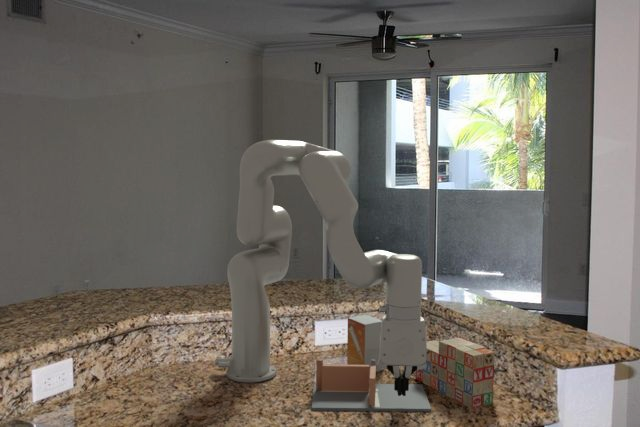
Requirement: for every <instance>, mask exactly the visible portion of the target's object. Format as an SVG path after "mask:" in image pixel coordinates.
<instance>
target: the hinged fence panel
mask: <svg viewBox="0 0 640 427" xmlns="http://www.w3.org/2000/svg"><path fill="white" fill-rule="evenodd" d="M376 384H377V372H376V360H374V359H372V360H371V368H370V373H369V405H375V394H376Z"/></svg>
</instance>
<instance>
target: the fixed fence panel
mask: <svg viewBox="0 0 640 427" xmlns="http://www.w3.org/2000/svg"><path fill="white" fill-rule="evenodd" d="M315 370H316V371H315V379H316V380H315V383H316V391H369V380H370V373H369V365H347V364H324V359H322V358H317V359H316V360H315Z"/></svg>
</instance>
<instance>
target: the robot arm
mask: <svg viewBox="0 0 640 427" xmlns="http://www.w3.org/2000/svg"><path fill="white" fill-rule="evenodd" d="M351 169H352V167H351V164H350V162H349V160H348V158H347V157H346V156H345V155H344V154H343V153H342V152H339V151H338V150H334V149H329V148H326V147H323V146H319V145H316V144H312V143H310V142H305V141H301V140H294V139H293V140H290V139H287V140H286V139H265V140H261V141H258V142H255V143H253V144H251V145H250V146H249V147H248V148H246V150H245V151H244V153H243V154H242V157H241V158H240V163H239V192H238V195H239V196H238V204H237V205H238V206H237V215H236V216H237V219H236V236H237V238H238V239H237V240H239V241H240V242H241V244H243V245H245V246H250V247H251V246H253V247H255V246H258V248H254V249H252V248H251V249H248V250H244V251H243V250H242V251H241V252H238V253H236V254H235V255H234V256H233V257H232V258H231V259H230V261H229V262H228V264H227V270H226V273H227V280H228V285H229V290H230V299H231V300H230V301H231V345H232V346H231V352H232V355H231V356H228V357H225V358H224V357H215V358H214V359H215V361H214V363H215V366H218V368H227V369H226V372H225V373H226V374H225V376H226V377H227V378H228V379H229V380H232V381H235V382H239V383H259V382H260V383H261V382H264V381H268V380H271V379H272V378H274V377H275V376H276V375H277V368H276V367H275V366H274V365H273V364H271V312H270V311H271V310H270V309H271V305H270V298H269V297H268V294H267V291H266V289H265V286H267V285H270V284H273V283H276V282H279V281H281V280H282V279H283V278H284V277H285V276H286V275H287V272H288V270H289V265H290V256H291V246H292V245H291V244H292V237H293V236H292V235H293V225H292V224H293V223H292V219H291V217H290V214H289V213H288V211H287V210H286V209H285V208H284V207H282V206H281V205H280V206H279V205H276V204H274V199H275V186H274V184H273V181H272V177H274V176H300V178H301V180H302V182H303V184H304V186H305V188H306V189H307V191H308V193H309V195H310V197H311V198H312V201H313V202H314V203H315V205H316V207H317V209H318V211H319V213H320V215H321V217H322V219H323V220H324V223H325V238H326V243H327V248H328V252H329V255H330V258H331V259H332V261H333V264H334V266H335V267H336V269H337V270H338V273H339V274H340V276H341V277H342V279H343V280H344V281H345V283H346V284H348V285H349V286H350V287H352V288H354V289H356V290H366V289H368V288H372V287H375V286H377V285H380V284H385V283H386V285H385V286H386V287H385V290H386V294H385V303H384V305H379V309H378V310H379V311H378V312H379V313H383V314H384V315H383V317H382V319H381V320H382V323H381V330H380V339H379V359H378V362H377V365H378V367H380V368H384V370H388V372H390V373H391V375H392V376H394V377H393V378H394V383H393V384H394V390H395V391H397V393H398V396H401V395H403V396H406V391H408V390H409V384H410V378H411V376H413V374H414V373H416V370H420V369H424V368H426V367H427V364H426V359H427V341H428V340H427V329H426V322H425V319H424V317H422V315H421V314H422V312H421V311H422V285H423V284H422V282H423V281H422V280H423V278H422V277H423V275H422V274H423V261H422V259H421V258H420V257H419V256H417V255H416V254H410V253H409V254H407V253H406V254H405V253H400V254H399V253H395V252H391V251H387V250H385V249H373V250H369V251H365V252H364V250H363V248H362V247H361V245H360V243H359V242H358V239H357V237H356V235H355V231H354V221H355V217H356V214H357V212H358V210H359V203H358V201H357V199H356V198H355V196H354V194H353V192H352V190H351V189H350V186H348V184H347V181H349V179H350V177H351V173H352V172H351V171H352V170H351ZM402 366H403V367H404V368H403V371H402V374H401V371H400V368H399V367H402Z"/></svg>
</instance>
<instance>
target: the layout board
mask: <svg viewBox="0 0 640 427" xmlns="http://www.w3.org/2000/svg"><path fill="white" fill-rule="evenodd" d="M428 399H429V398H428V397H427V393H426V390H425V388H424V385H423V383H422V384H420V383H419V384H418V383H417V384H414V383H413V384H412V383H411V384H410V383H409V390H408V391H406V396H403V395H401V396H398V393H397V391H395V390H394V383H376V394H375V405H369V391H316V382H315V383H313V387H312V399H311V411H329V412H330V411H333V412H334V411H338V412H340V411H341V412H342V411H343V412H344V411H345V412H346V411H348V412H352V411H353V412H355V411H356V412H432V407H431V404H430V402H429V400H428Z"/></svg>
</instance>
